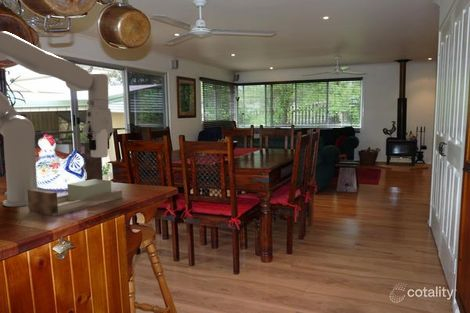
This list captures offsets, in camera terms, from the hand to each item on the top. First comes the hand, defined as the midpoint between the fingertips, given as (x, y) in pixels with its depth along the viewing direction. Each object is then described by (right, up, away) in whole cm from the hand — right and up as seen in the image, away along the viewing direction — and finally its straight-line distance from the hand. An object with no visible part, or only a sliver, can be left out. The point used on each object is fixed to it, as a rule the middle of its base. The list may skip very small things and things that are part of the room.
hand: (99, 148), depth 150 cm
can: (0, -3, 0) cm, 3 cm away
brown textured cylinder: (-9, -16, +19) cm, 26 cm away
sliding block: (+1, -18, -13) cm, 23 cm away
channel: (-1, -20, -17) cm, 27 cm away
